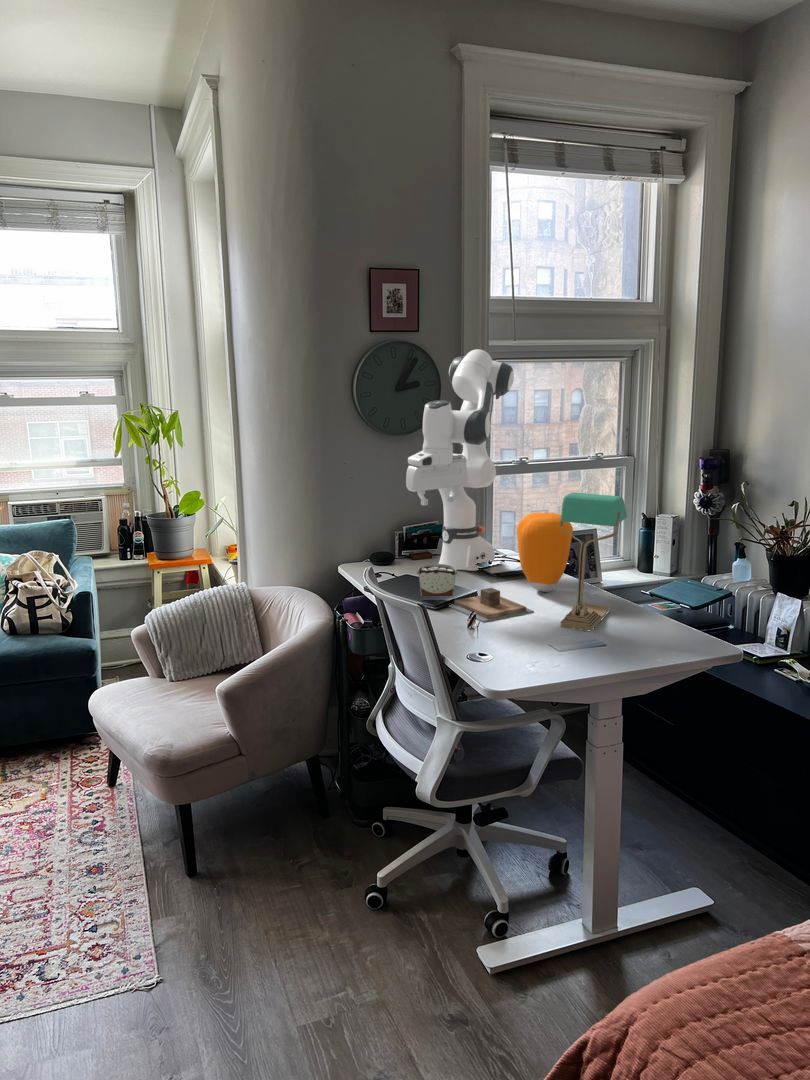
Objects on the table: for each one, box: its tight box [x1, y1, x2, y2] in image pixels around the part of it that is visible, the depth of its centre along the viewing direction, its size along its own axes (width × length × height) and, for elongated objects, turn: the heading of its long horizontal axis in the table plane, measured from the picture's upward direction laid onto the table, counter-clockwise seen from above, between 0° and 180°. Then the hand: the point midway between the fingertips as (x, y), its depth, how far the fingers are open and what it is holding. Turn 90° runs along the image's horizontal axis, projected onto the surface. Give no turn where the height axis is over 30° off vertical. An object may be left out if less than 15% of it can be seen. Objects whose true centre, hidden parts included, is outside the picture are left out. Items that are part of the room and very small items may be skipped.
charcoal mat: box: [448, 602, 535, 623], centre depth 237 cm, size 18×18×1 cm
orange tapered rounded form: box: [516, 512, 574, 593], centre depth 252 cm, size 17×17×25 cm
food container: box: [416, 563, 459, 597], centre depth 247 cm, size 12×6×10 cm, turn 84°
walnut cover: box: [454, 587, 527, 619], centre depth 236 cm, size 14×16×5 cm
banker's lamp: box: [560, 492, 628, 632], centre depth 225 cm, size 16×21×35 cm
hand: (437, 503), depth 242 cm, fingers open, 8 cm apart
